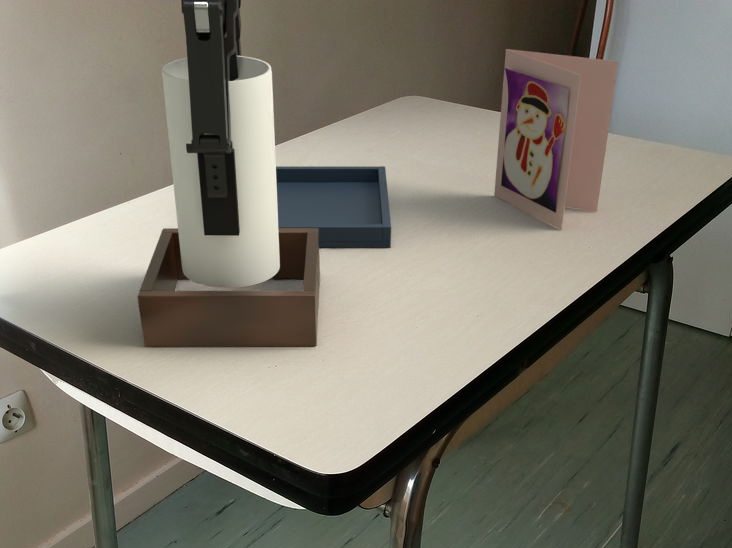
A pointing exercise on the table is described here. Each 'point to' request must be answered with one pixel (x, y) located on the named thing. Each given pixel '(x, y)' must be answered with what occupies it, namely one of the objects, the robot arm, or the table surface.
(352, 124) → the table surface
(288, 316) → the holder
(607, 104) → the greeting card
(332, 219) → the tray
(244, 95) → the cup
